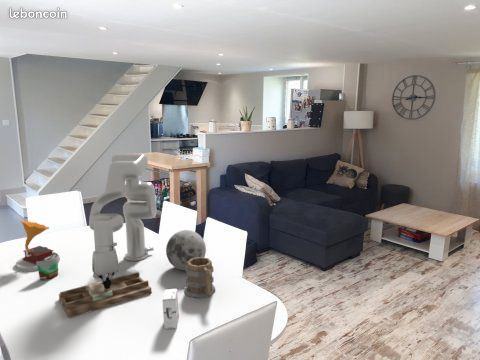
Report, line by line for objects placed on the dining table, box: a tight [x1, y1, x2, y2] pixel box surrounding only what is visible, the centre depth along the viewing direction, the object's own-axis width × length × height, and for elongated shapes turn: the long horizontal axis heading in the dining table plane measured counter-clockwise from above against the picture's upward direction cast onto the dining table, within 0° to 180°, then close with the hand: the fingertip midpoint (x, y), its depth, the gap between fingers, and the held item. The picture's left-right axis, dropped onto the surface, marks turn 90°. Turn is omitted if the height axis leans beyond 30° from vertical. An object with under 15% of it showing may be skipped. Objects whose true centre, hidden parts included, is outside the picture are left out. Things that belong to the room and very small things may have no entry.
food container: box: [36, 251, 61, 281], centre depth 177 cm, size 12×6×10 cm, turn 168°
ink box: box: [162, 288, 180, 330], centre depth 139 cm, size 9×5×12 cm, turn 5°
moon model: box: [165, 229, 207, 271], centre depth 186 cm, size 20×20×20 cm
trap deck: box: [58, 271, 153, 319], centre depth 159 cm, size 34×18×4 cm, turn 127°
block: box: [87, 280, 104, 296], centre depth 156 cm, size 5×5×4 cm
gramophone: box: [15, 219, 61, 272], centre depth 192 cm, size 20×20×25 cm
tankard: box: [184, 257, 216, 299], centre depth 160 cm, size 20×13×15 cm, turn 23°
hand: (107, 287), depth 159 cm, fingers closed
